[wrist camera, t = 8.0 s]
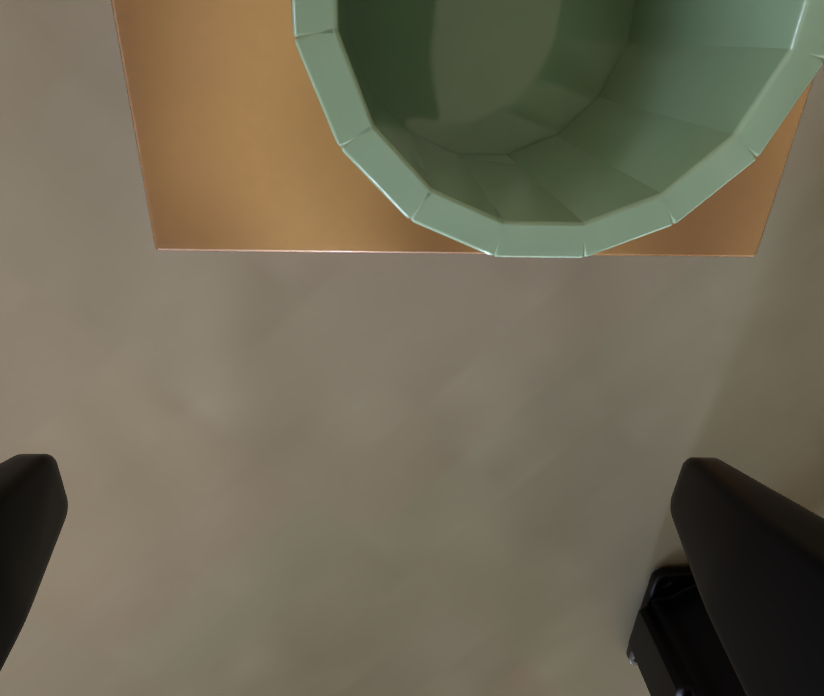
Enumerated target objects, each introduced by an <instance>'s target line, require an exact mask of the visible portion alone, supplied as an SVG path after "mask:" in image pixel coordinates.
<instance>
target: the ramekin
mask: <svg viewBox="0 0 824 696" xmlns="http://www.w3.org/2000/svg"><path fill="white" fill-rule="evenodd" d="M291 13H292V31H293V35H294V37H296V39H295V45H296V48H297V50H298V52H299V55H300V57H301V60H302V62H303V64H304V67H305V69H306V71H307V74H308V76H309V79H310V81H311V83H312V86H313V88H314V91H315V93H316V95H317V98H318V100H319V103H320V105H321V107H322V110H323V112H324V115H325V117H326V119H327V122H328V124H329V126H330V129H331V131H332V134H333V136H334V138H335V141H336V143H337V144H338V145H339V146H341V150H342V152H343V153H344V154H345V155H346V156H347V157H348V158H349V159H350V160H351V161H352V162H353V163H354V164H355V165H356V166H357V167H358V168H359V169H360V171H361V172H362V173H363V174H364V175H365V176H366V177H367V178H368V179H369V180H370V181H371V182H372V183H373V184H374V185H375V186H376V187H377V188H378V189H379V190H380V191H381V192H382V193H383V194H384V195H385V196H386V198H387V199H388V200H389V201H390V202H391V203H392V204H393V205H394V206H395V207H396V208H397V209H398V210H399V211H400V212H401V213H402V214H403V215H404V216H405V217H406V218H410V220H411V221H412V222H413V223H415V224H418V225H420V226H422V227H425V228H427V229H429V230H432V231H434V232H436V233H439V234H441V235H443V236H446V237H448V238H450V239H453V240H455V241H457V242H460V243H462V244H464V245H466V246H469V247H471V248H473V249H476V250H478V251H480V252H483V253H485V254H487V255H494V256H496V257H528V258H582V257H583V256H585V257H586V256H591V255H593V254H596V253H599V252H601V251H604V250H607V249H610V248H612V247H615V246H618V245H621V244H623V243H626V242H629V241H632V240H634V239H637V238H640V237H642V236H645V235H648V234H651V233H653V232H656V231H659V230H662V229H664V228H667V227H670V226H671V225H672V224H673V223H674V224H675V223H678V222H679V221H680V220H681V219H683V218H684V217H685V216H686V215H688V214H689V213H690V212H691V211H693V210H694V209H695V208H696V207H698V206H699V205H700V204H701V203H703V202H704V201H705V200H706V199H708V198H709V197H710V196H711V195H713V194H714V193H715V192H717V191H718V190H719V189H720V188H722V187H723V186H724V185H725V184H727V183H728V182H729V181H730V180H732V179H733V178H734V177H735V176H737V175H738V174H739V173H740V172H742V171H743V170H744V169H745V168H747V167H748V166H749V165H750V164H752V163H753V162H754V161H755V160H756V157H757V156H759V155H760V154H761V153H762V151H763V150H764V149H765V147H766V146H767V144H768V143H769V141H770V140H771V138H772V137H773V136H774V134H775V133H776V131H777V130H778V128H779V127H780V125H781V124H782V123H783V121H784V120H785V118H786V117H787V115H788V114H789V112H790V111H791V110H792V108H793V107H794V105H795V104H796V102H797V101H798V99H799V98H800V97H801V95H802V94H803V92H804V91H805V89H806V88H807V86H808V85H809V84H810V82H811V81H812V79H813V78H814V76H815V75H816V73H817V72H818V71H819V69H820V68H821V66H822V65H823V62H824V61H823V58H824V0H291Z"/></svg>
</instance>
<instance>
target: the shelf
mask: <svg viewBox="0 0 824 696" xmlns="http://www.w3.org/2000/svg"><path fill="white" fill-rule="evenodd" d="M111 3H112V9H113V14H114V20H115V25H116V31H117V37H118V42H119V48H120V53H121V59H122V64H123V70H124V76H125V81H126V87H127V92H128V98H129V103H130V109H131V115H132V120H133V126H134V131H135V137H136V142H137V148H138V154H139V159H140V165H141V170H142V176H143V181H144V187H145V193H146V198H147V204H148V209H149V215H150V220H151V226H152V232H153V237H154V243H155V247H156V249H157V250H169V251H262V252H355V253H448V254H485V253H483V252H480V251H478V250H476V249H473V248H471V247H469V246H466V245H464V244H462V243H460V242H457V241H455V240H453V239H450V238H448V237H446V236H443V235H441V234H439V233H436V232H434V231H432V230H429V229H427V228H425V227H422V226H420V225H418V224H415V223H413V222H412V221H411V220H410V218H406V217H405V216H404V215H403V214H402V213H401V212H400V211H399V210H398V209H397V208H396V207H395V206H394V205H393V204H392V203H391V202H390V201H389V200H388V199H387V198H386V196H385V195H384V194H383V193H382V192H381V191H380V190H379V189H378V188H377V187H376V186H375V185H374V184H373V183H372V182H371V181H370V180H369V179H368V178H367V177H366V176H365V175H364V174H363V173H362V172H361V171H360V169H359V168H358V167H357V166H356V165H355V164H354V163H353V162H352V161H351V160H350V159H349V158H348V157H347V156H346V155H345V154H344V153H343V152H342V150H341V146H339V145H338V144H337V143H336V141H335V138H334V136H333V134H332V131H331V129H330V126H329V124H328V122H327V119H326V117H325V115H324V112H323V110H322V107H321V105H320V103H319V100H318V98H317V95H316V93H315V91H314V88H313V86H312V83H311V81H310V79H309V76H308V74H307V71H306V69H305V67H304V64H303V62H302V60H301V57H300V55H299V52H298V50H297V48H296V45H295V39H296V37H294V35H293V31H292V13H291V0H111ZM812 81H813V79H812ZM812 81H811V82H810V84H809V85H808V86H807V88H806V89H805V91H804V92H803V94H802V95H801V97H800V98H799V99H798V101H797V102H796V104H795V105H794V107H793V108H792V110H791V111H790V112H789V114H788V115H787V117H786V118H785V120H784V121H783V123H782V124H781V125H780V127H779V128H778V130H777V131H776V133H775V134H774V136H773V137H772V138H771V140H770V141H769V143H768V144H767V146H766V147H765V149H764V150H763V151H762V153H761V154H760V155H759V156H757V157H756V160H755V161H754V162H753V163H752V164H750V165H749V166H748V167H747V168H745V169H744V170H743V171H742V172H740V173H739V174H738V175H737V176H735V177H734V178H733V179H732V180H730V181H729V182H728V183H727V184H725V185H724V186H723V187H722V188H720V189H719V190H718V191H717V192H715V193H714V194H713V195H711V196H710V197H709V198H708V199H706V200H705V201H704V202H703V203H701V204H700V205H699V206H698V207H696V208H695V209H694V210H693V211H691V212H690V213H689V214H688V215H686V216H685V217H684V218H683V219H681V220H680V221H679V222H678V223H675V224H674V223H673V224H672V225H671V226H670V227H667V228H664V229H662V230H659V231H656V232H653V233H651V234H648V235H645V236H642V237H640V238H637V239H634V240H632V241H629V242H626V243H623V244H621V245H618V246H615V247H612V248H610V249H607V250H604V251H601V252H599V253H596V254H593V255H634V256H726V257H753V256H755V255H756V253H757V250H758V247H759V244H760V241H761V238H762V235H763V232H764V228H765V225H766V222H767V219H768V216H769V213H770V210H771V207H772V204H773V201H774V198H775V195H776V191H777V188H778V185H779V182H780V179H781V176H782V173H783V170H784V167H785V164H786V161H787V158H788V155H789V151H790V148H791V145H792V142H793V139H794V136H795V133H796V130H797V127H798V124H799V121H800V118H801V115H802V111H803V108H804V105H805V102H806V99H807V96H808V93H809V90H810V87H811V84H812Z"/></svg>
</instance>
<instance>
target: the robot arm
mask: <svg viewBox="0 0 824 696" xmlns="http://www.w3.org/2000/svg"><path fill="white" fill-rule="evenodd" d="M67 509H68V501H67V496H66V493H65V489H64V486H63V482H62V479H61V475H60V472H59V468H58V465H57V462H56V460H55V459H54V458H53V457H52V456H51V455H48V454H19V455H16V456H14V457H12V458H10V459H8V460H6V461H4V462H2V463H1V464H0V671H1V669H2V667H3V665H4V663H5V661H6V659H7V657H8V655H9V653H10V651H11V649H12V647H13V645H14V643H15V641H16V639H17V637H18V635H19V633H20V631H21V629H22V627H23V625H24V623H25V621H26V618H27V616H28V614H29V611H30V609H31V606H32V604H33V601H34V599H35V596H36V594H37V591H38V588H39V586H40V583H41V581H42V578H43V576H44V573H45V570H46V568H47V565H48V563H49V560H50V557H51V555H52V552H53V550H54V547H55V544H56V542H57V539H58V537H59V534H60V531H61V529H62V526H63V524H64V521H65V518H66V515H67ZM671 514H672V518H673V521H674V523H675V526H676V529H677V532H678V534H679V537H680V540H681V543H682V546H683V548H684V551H685V554H686V557H687V559H688V562H689V565H690V567H680V568H661V569H658V570H656V571H655V572H653V574H652V575H651V578H650V581H649V584H648V587H647V590H646V593H645V596H644V599H643V602H642V605H641V609H640V610H639V612H638V615H637V618H636V621H635V625H634V628H633V631H632V634H631V637H630V640H629V646H628V649H627V653H626V654H627V656H628V659H629V661H630V663H631V664H633V665H638V667H639V669H640V671H641V674H642V676H643V678H644V681H645V683H646V685H647V688H648V690H649V692H650V695H651V696H824V519H823V518H822V517H820V516H818V515H816V514H814V513H813V512H811V511H809V510H807V509H806V508H804V507H802V506H800V505H799V504H797V503H795V502H793V501H792V500H790V499H788V498H786V497H784V496H783V495H781V494H779V493H777V492H776V491H774V490H772V489H770V488H769V487H767V486H765V485H763V484H761V483H760V482H758V481H756V480H754V479H753V478H751V477H749V476H747V475H746V474H744V473H742V472H740V471H739V470H737V469H735V468H733V467H731V466H730V465H728V464H726V463H724V462H723V461H721V460H719V459H716V458H700V457H692V458H689V459H687V460H686V461H685V462H684V463H683V466H682V468H681V471H680V474H679V477H678V480H677V483H676V486H675V489H674V492H673V495H672V498H671Z"/></svg>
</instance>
